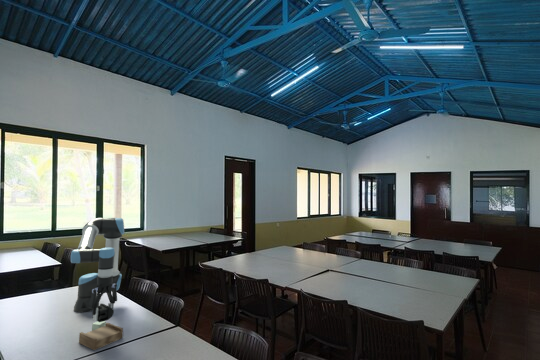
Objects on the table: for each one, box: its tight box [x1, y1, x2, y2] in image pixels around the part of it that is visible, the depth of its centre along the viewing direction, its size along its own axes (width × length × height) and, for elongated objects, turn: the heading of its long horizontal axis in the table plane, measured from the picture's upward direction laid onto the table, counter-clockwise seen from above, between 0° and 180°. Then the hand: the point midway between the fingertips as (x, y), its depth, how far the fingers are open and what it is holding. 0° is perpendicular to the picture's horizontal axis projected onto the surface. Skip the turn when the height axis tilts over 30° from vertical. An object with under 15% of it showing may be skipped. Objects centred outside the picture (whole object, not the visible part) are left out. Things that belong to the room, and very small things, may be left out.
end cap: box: [91, 303, 114, 322], centre depth 166 cm, size 10×7×7 cm
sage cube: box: [91, 320, 107, 331], centre depth 177 cm, size 5×5×5 cm
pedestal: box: [78, 322, 124, 351], centre depth 166 cm, size 16×14×5 cm
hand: (102, 317), depth 166 cm, fingers closed on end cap, 8 cm apart
